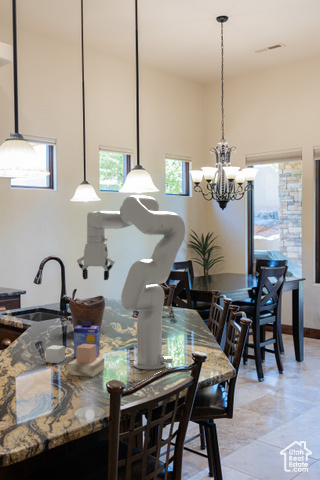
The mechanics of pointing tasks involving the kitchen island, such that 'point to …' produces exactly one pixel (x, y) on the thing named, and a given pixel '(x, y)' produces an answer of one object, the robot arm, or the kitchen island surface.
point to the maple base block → (86, 367)
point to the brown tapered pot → (87, 311)
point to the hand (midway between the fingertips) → (95, 279)
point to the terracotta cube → (86, 353)
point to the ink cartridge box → (87, 336)
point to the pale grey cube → (55, 354)
